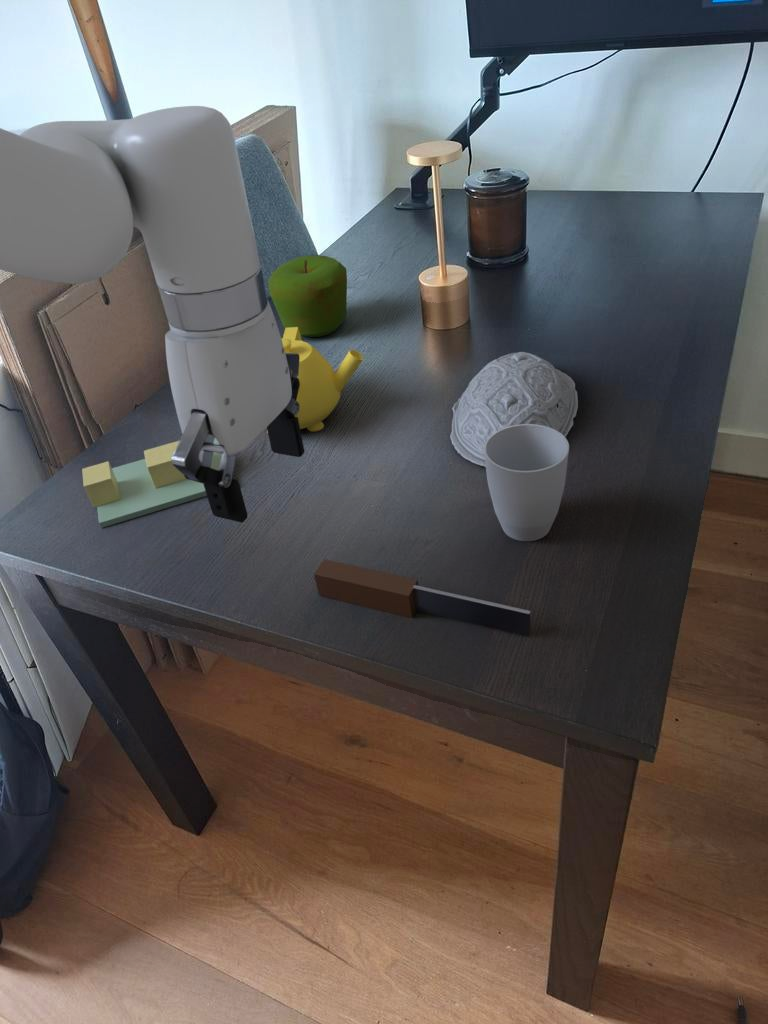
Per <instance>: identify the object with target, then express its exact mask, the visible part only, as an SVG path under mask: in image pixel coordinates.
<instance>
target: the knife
mask: <svg viewBox="0 0 768 1024" xmlns="http://www.w3.org/2000/svg"><path fill="white" fill-rule="evenodd" d="M313 576H314V580H315V584H316V588H317V592H318V596H319V597H323V598H327V599H331V600H335V601H340V602H343V603H349V604H353V605H355V606H356V605H357V606H361V607H365V608H370V609H373V610H378V611H381V612H386V613H389V614H394V615H398V616H401V617H406V618H411V619H412V618H413V617H414V615H415V613H416V611H419V612H423V613H428V614H431V615H435V616H440V617H444V618H449V619H453V620H457V621H461V622H465V623H469V624H474V625H478V626H483V627H487V628H490V629H495V630H499V631H503V632H508V633H512V634H515V635H521V636H525V637H529V638H530V636H531V634H532V633H531V632H532V631H531V629H532V628H531V626H532V624H531V623H532V622H531V621H532V620H531V619H532V618H531V617H532V616H531V615H532V614H531V613H532V611H531V610H528V609H524V608H519V607H516V606H512V605H511V606H510V605H506V604H501V603H497V602H493V601H489V600H485V599H484V600H483V599H479V598H475V597H471V596H466V595H462V594H458V593H457V594H456V593H452V592H447V591H443V590H438V589H434V588H430V587H425V586H420V585H419V580H418V579H415V578H412V577H408V576H403V575H398V574H393V573H389V572H385V571H379V570H375V569H370V568H366V567H361V566H357V565H353V564H347V563H343V562H339V561H333V560H330V559H323V560H322V561H321V563H320V564H319V566H318V567H317V569H316V570H315V571H314V573H313Z"/></svg>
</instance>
